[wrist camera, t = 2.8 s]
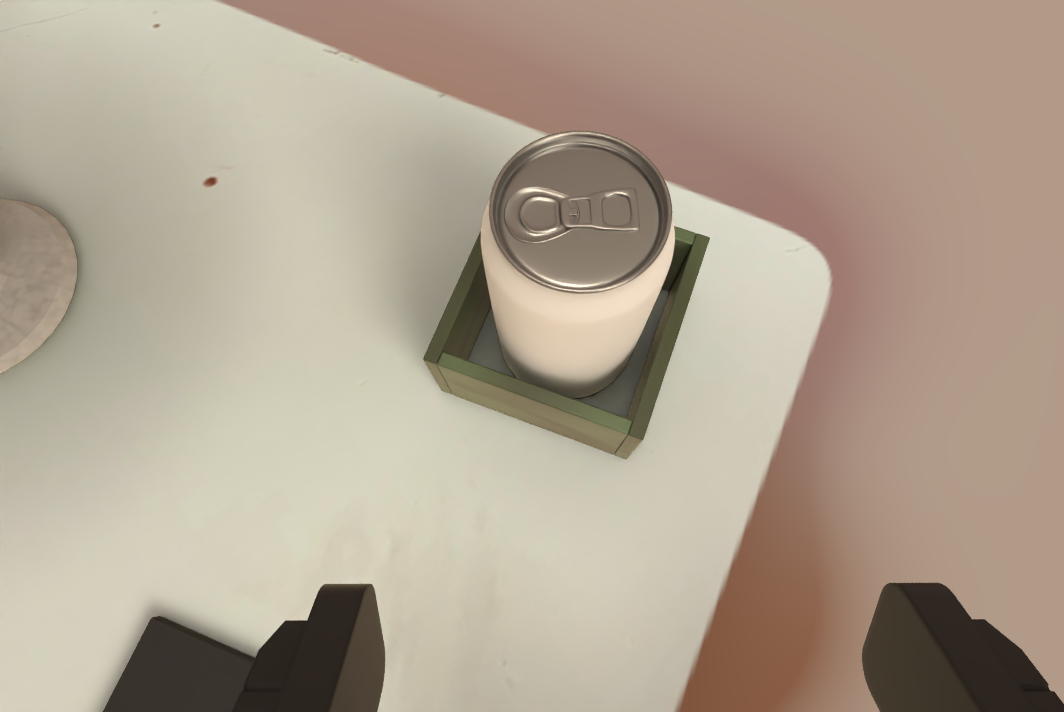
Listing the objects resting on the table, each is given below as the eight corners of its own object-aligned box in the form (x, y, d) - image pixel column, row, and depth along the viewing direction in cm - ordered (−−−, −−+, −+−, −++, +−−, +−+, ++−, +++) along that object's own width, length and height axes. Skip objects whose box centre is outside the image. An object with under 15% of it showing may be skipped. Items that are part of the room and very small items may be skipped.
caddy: (684, 285, 32) (710, 237, 27) (626, 459, 29) (643, 440, 24) (512, 227, 33) (506, 171, 28) (440, 390, 30) (422, 359, 26)
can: (496, 278, 32) (472, 123, 21) (626, 272, 32) (674, 113, 21) (501, 405, 30) (476, 311, 19) (639, 398, 30) (699, 300, 19)
